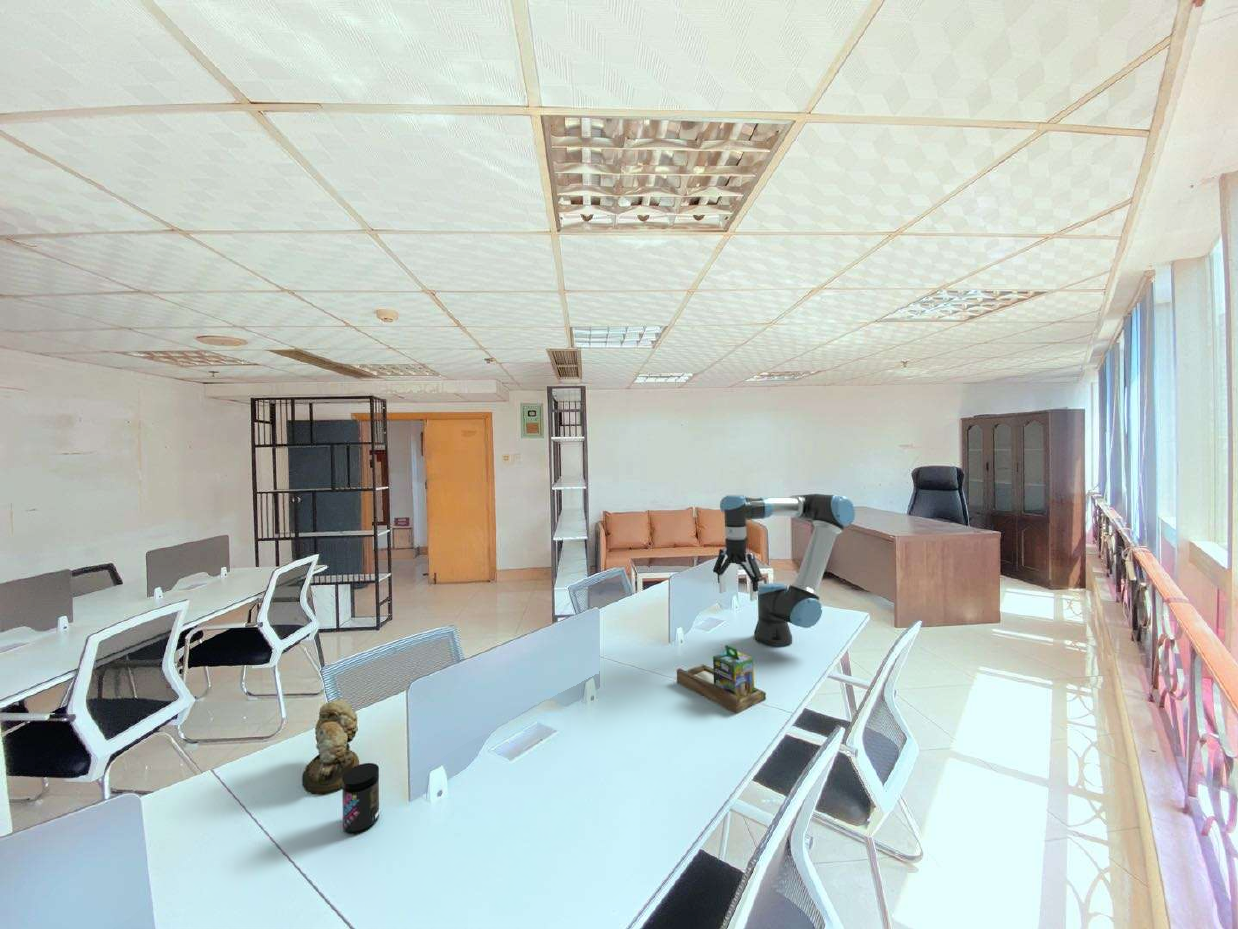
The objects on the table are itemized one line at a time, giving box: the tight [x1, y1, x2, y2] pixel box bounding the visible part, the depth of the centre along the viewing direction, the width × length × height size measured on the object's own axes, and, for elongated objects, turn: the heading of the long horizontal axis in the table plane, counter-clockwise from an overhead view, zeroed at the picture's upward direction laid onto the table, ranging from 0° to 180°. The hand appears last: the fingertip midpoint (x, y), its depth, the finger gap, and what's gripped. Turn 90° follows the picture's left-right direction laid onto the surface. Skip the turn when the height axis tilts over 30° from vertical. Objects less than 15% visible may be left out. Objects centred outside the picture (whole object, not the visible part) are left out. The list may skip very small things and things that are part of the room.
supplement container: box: [341, 762, 380, 835], centre depth 99 cm, size 7×7×10 cm
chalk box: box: [712, 644, 755, 699], centre depth 150 cm, size 9×9×15 cm
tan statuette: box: [301, 699, 360, 796], centre depth 115 cm, size 18×12×17 cm, turn 36°
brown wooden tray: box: [676, 664, 767, 715], centre depth 154 cm, size 14×25×4 cm, turn 37°
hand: (737, 596), depth 173 cm, fingers open, 13 cm apart
